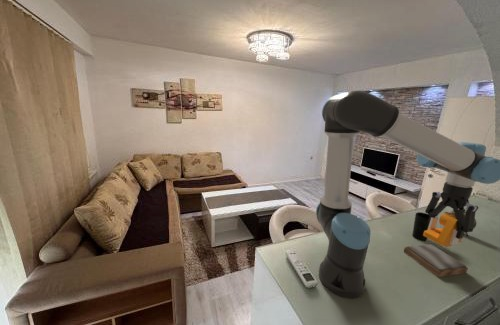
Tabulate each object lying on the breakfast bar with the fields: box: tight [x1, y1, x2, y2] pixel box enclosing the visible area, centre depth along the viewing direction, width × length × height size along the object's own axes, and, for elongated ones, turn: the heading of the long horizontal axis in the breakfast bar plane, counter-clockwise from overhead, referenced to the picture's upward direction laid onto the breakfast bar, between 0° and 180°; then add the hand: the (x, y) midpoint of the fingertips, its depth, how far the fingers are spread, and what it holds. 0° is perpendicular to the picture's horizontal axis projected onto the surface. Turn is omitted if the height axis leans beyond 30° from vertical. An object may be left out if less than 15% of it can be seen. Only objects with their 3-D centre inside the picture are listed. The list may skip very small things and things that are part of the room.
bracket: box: [423, 211, 463, 248], centre depth 80 cm, size 11×7×12 cm, turn 108°
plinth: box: [403, 244, 469, 278], centre depth 84 cm, size 14×14×3 cm
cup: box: [412, 211, 429, 242], centre depth 99 cm, size 8×8×12 cm
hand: (441, 237), depth 81 cm, fingers closed on bracket, 8 cm apart
